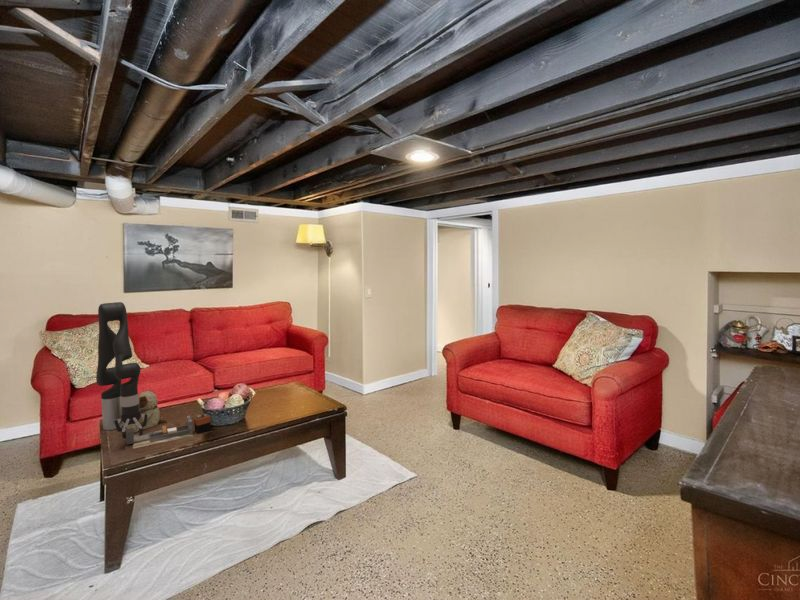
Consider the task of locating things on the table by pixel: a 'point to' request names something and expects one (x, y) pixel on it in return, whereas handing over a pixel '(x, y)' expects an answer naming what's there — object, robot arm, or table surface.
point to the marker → (171, 430)
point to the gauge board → (167, 435)
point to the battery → (202, 423)
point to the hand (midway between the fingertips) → (132, 436)
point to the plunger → (142, 435)
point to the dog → (148, 411)
